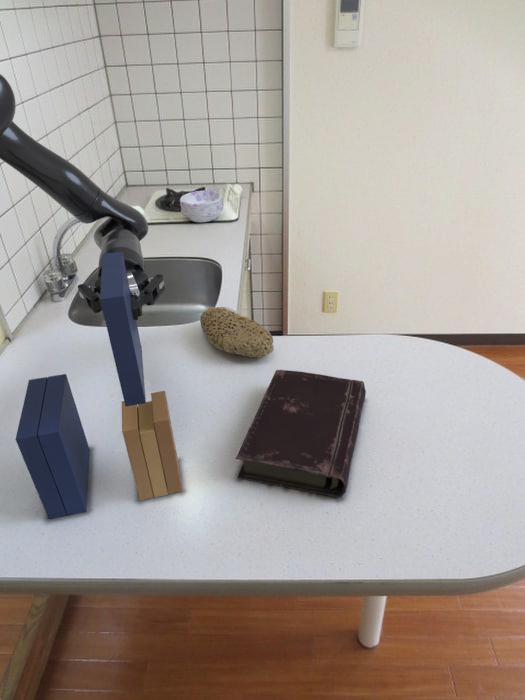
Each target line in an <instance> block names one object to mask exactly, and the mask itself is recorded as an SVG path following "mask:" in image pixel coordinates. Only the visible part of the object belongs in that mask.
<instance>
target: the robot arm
mask: <svg viewBox="0 0 525 700" xmlns="http://www.w3.org/2000/svg"><path fill="white" fill-rule="evenodd" d="M16 104H17V103H16V97H15V93H14V91H13V88H12V86H11V84H10V83H9V81H8V80H7V79H6V77H5V76H4V75H3V74H1V73H0V161H1V160H2V161H3V162H4V163H6V164H7V165H8V166H9V167H12V169H14V170H16V172H18V173H20V174H21V175H23V176H24V177H25V178H27V179H28V180H29V181H30V182H31V183H33V184H34V185H35V186H37V187H38V188H39V189H41V190H42V191H43V192H44V193H45V194H46V195H48V196H49V197H50V198H51V199H52V200H53V201H55V202H56V203H57V204H58V205H60V206H61V207H62V208H63V209H65V210H66V212H68V213H69V214H70V215H71V216H73V217H74V218H75V219H77V220H78V221H80V222H81V223H82V224H87V225H88V224H92V223H94V222H97V221H98V220H101V219H103V218H107V219H105V220H104V221H103V222H102V223H101V224H99V226H98V227H97V228H96V229H95V231H94V233H93V240H94V243H95V244H96V246H97V247H98V249H99V250H100V254H99V258H98V268H97V269H98V271H97V279H96V280H95V281H94V283H93V285H88V286H87V284H86V283H81V284H78V285H77V289H78V294H79V297H80V302H82V303H83V304H84V305H85V306H86V307H87V308H88V309H90V310H91V311H92V312H93V313H95V314H97V313H101V312H102V317H103V320H104V321H105V318H104V314H103V310H102V305H101V301H100V297H99V296H100V291H101V273H102V255H103V254H107V253H115V252H123V257H124V262H125V267H126V272H127V277H128V282H129V287H130V292H131V309H132V315H133V320H136V321H138V320H139V317H142V316H143V307H144V306H143V305H146V306H153V305H154V304H155V303H156V301H157V300H159V298H160V296H162V294H163V293H164V291H165V290H166V286H165V280H164V275H163V274H162V273H157V274H155V275H154V276H153V277H149V275H148V274H146V264H145V259H144V255H143V252H142V246H141V241H142V240H143V239H144V238H146V236H147V235H148V233H149V223H148V221H147V219H146V217H145V216H144V215H143V213H141V212H140V211H139V210H138V209H136V208H135V207H133V206H131V205H129V204H127V203H125V202H123V201H121V200H119V199H117V198H115V197H114V196H111V195H110V194H108V193H107V192H105V191H104V190H103V189H102V188H100V187H99V185H97V184H96V183H95V182H94V181H93V180H92V179H91V178H90V177H89V176H88V175H86V174H85V173H84V172H83V171H82V170H81V169H80V168H79V167H77V166H75V164H73V163H71V162H70V161H68V160H67V159H66V158H64V157H62V156H60V155H59V154H58V153H56V152H54V151H52V150H51V149H50V148H48V147H46V146H45V145H43V144H41V143H40V142H38V141H37V140H35V139H34V138H33V137H32V136H30V135H29V134H27V133H26V132H25V131H24V130H23V129H21V127H19V126H18V125H17V124H16V123H15V122H14V121H13V120H14V117H15V114H16V110H17V109H16V108H17V106H16Z"/></svg>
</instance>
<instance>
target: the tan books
mask: <svg viewBox="0 0 525 700" xmlns="http://www.w3.org/2000/svg"><path fill="white" fill-rule="evenodd" d="M150 399H151V400H149V401H146V403H144V404H138V405H132V406H125V402H124V400H121V433H122V436H123V441H124V444H125V448H126V452H127V456H128V459H129V463H130V467H131V471H132V475H133V479H134V483H135V487H136V491H137V494H138V499H139V501H145V500H149V499H153V498H159V497H164V496H168V495H173V494H179V493H183V486H182V479H181V472H180V471H181V470H180V465H179V459H178V458H179V457H178V452H177V449H176V448H177V447H176V442H175V435H174V431H173V426H172V420H171V414H170V408H169V405H168V398H167V393H166V390H159V391H155V392H151V393H150Z"/></svg>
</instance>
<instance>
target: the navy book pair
mask: <svg viewBox="0 0 525 700" xmlns="http://www.w3.org/2000/svg"><path fill="white" fill-rule="evenodd" d="M15 442H16V444H17V446H18V450H19V451H20V454H21V457H22V458H23V461H24V464H25V465H26V468H27V471H28V474H29V476H30V478H31V480H32V483H33V485H34V487H35V490H36V492H37V495H38V497H39V499H40V502H41V504H42V507H43V509H44V512H45V514H46V517H47V518H48V520H53V519H58V518H63V517H67V516H71V515H76V514H82V513H86V512H87V510H88V509H87V507H88V506H87V505H88V489H89V472H90V454H91V453H90V452H91V450H90V446H89V444H88V440H87V437H86V433H85V430H84V426H83V423H82V421H81V417H80V415H79V411H78V408H77V404H76V401H75V398H74V395H73V392H72V388H71V385H70V382H69V378H68V375H67V373H62V374H57V375H50V376H44V377H37V378H32V379H28V382H27V386H26V391H25V396H24V400H23V404H22V409H21V414H20V418H19V422H18V426H17V431H16V435H15Z"/></svg>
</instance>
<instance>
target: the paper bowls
mask: <svg viewBox="0 0 525 700" xmlns="http://www.w3.org/2000/svg"><path fill="white" fill-rule="evenodd" d="M223 198H224V196H223V194H222V193H220V192H219V191H215V190H208V189H207V190H205V189H204V190H196V191H191V192H188V193H185V194H183V195H182V196H180V198H179V205H180V211H181V214H182V215H183V216H186V217H187V219H189V221H191V222H194V223H200V224H201V223H209V222H212V221H214V220H216V219H217V218H218V216H219V214H220V213H222V212H223V211H224V209H225V208H224V206H225V205H224V199H223Z"/></svg>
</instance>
